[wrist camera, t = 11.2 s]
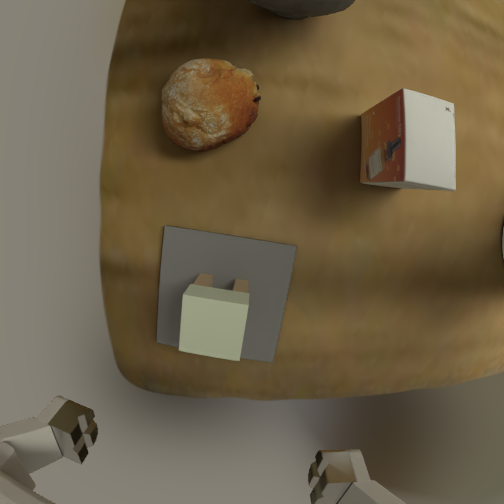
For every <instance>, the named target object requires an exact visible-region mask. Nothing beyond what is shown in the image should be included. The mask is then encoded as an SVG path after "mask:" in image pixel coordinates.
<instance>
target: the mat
mask: <svg viewBox="0 0 504 504" xmlns="http://www.w3.org/2000/svg"><path fill="white" fill-rule="evenodd" d="M296 248H297V246H295V245H289V244H283V243H277V242H271V241H264V240H258V239H252V238H245V237H239V236H233V235H226V234H220V233H213V232H207V231H200V230H194V229H187V228H181V227H174V226H167V225H166V226H165V229H164V238H163V248H162V259H161V271H160V284H159V300H158V320H157V343H161V344H165V345H170V346H175V347H179V341H180V326H181V312H182V300H183V294H184V292H185V291H186V289H187V288H188V287H189V285H190V284H193V283H194V282H195V280H196V279H197V277H198V276H199V274H200V273H204V274H210V275H213V281H212V288H219V289H225V290H231V291H233V288H234V283H235V279H242V280H248V281H249V283H248V293H249V307H248V313H247V319H246V325H245V331H244V337H243V343H242V349H241V355H240V358H243V359H250V360H258V361H266V362H273V359H274V355H275V350H276V346H277V341H278V337H279V332H280V328H281V323H282V318H283V314H284V309H285V304H286V299H287V294H288V289H289V284H290V279H291V274H292V269H293V264H294V259H295V254H296Z"/></svg>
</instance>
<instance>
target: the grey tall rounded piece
mask: <svg viewBox="0 0 504 504" xmlns="http://www.w3.org/2000/svg"><path fill="white" fill-rule="evenodd" d="M250 1H251V2H252V3H253V4H256V5H258V6H260V7H263V8H266V9H268V10H270V11H272V12H273V13H275V14H277V15H279V16H281V17H286V18H291V19H297V18H306V17H308V16H311V17H314V16H322V15H329V14H332V13H336V12H340V11H343V10H345V9H347V8H348V7H349V6H350V5H352V4H353V3H354V1H355V0H250Z"/></svg>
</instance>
